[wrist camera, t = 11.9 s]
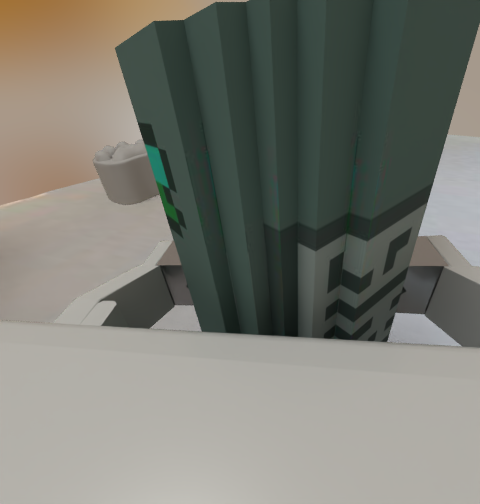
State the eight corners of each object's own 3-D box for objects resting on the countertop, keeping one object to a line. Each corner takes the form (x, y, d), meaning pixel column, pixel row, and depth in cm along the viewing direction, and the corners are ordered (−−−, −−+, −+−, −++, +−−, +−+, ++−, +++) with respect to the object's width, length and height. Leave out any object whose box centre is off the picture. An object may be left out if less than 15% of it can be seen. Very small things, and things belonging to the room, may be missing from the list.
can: (291, 336, 17) (285, 44, 9) (382, 415, 13) (540, -19, 4) (211, 397, 14) (94, 62, 6) (291, 522, 10) (256, -50, 2)
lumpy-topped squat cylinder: (126, 208, 45) (105, 156, 40) (98, 194, 53) (78, 149, 48) (177, 187, 50) (163, 139, 45) (144, 177, 59) (130, 136, 54)
